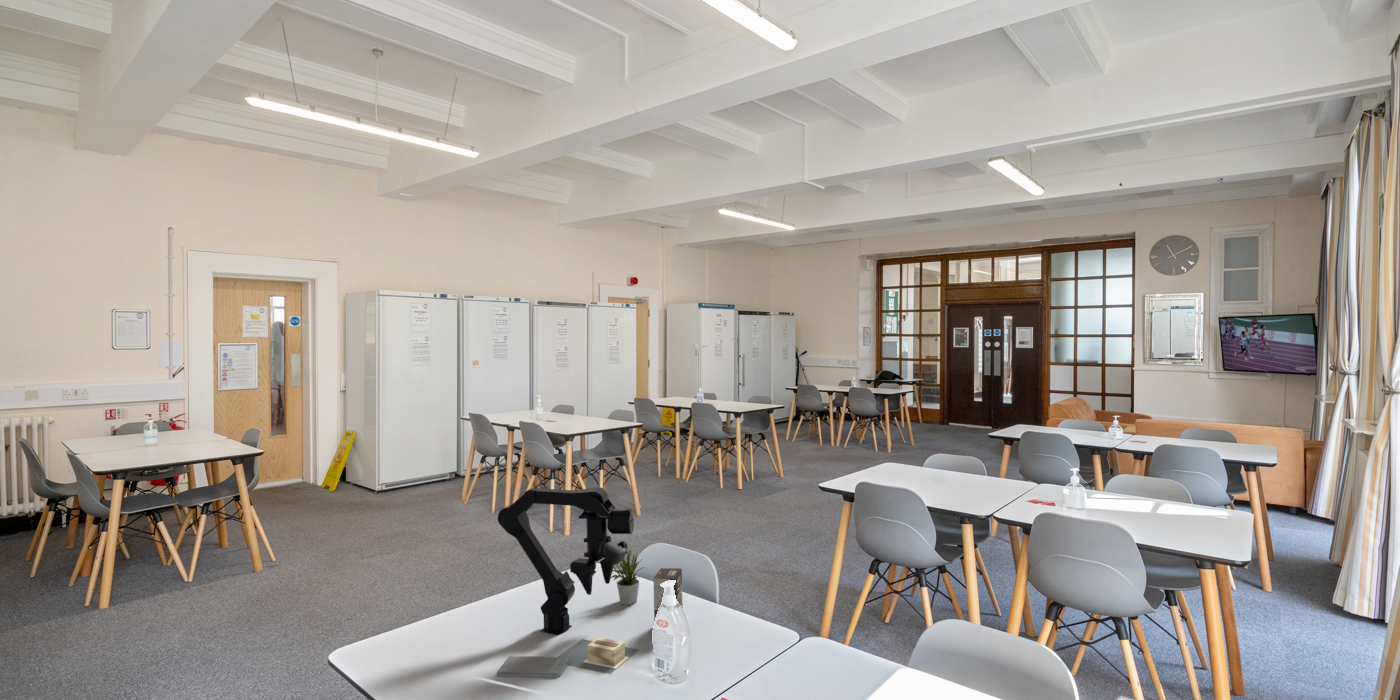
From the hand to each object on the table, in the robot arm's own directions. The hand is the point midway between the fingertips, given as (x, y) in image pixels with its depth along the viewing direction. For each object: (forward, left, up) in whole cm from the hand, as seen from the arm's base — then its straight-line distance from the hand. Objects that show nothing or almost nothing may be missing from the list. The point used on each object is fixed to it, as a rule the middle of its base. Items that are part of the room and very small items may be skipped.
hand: (598, 588), depth 190 cm
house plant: (-5, +23, -12) cm, 27 cm away
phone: (-2, -26, -12) cm, 29 cm away
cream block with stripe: (+12, -15, -12) cm, 22 cm away
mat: (+8, -14, -12) cm, 20 cm away
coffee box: (+18, +8, -12) cm, 23 cm away
